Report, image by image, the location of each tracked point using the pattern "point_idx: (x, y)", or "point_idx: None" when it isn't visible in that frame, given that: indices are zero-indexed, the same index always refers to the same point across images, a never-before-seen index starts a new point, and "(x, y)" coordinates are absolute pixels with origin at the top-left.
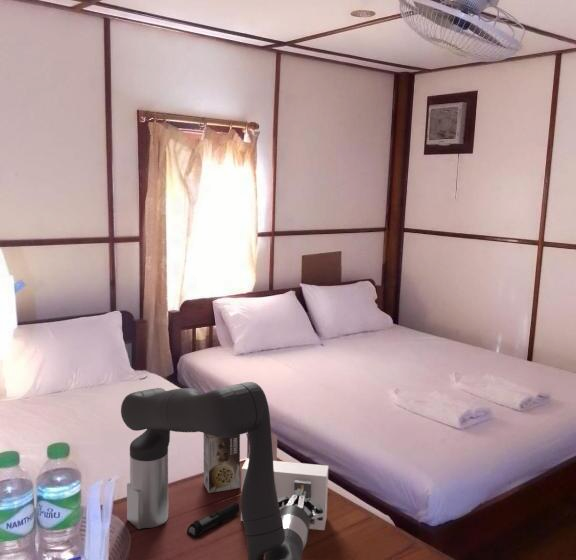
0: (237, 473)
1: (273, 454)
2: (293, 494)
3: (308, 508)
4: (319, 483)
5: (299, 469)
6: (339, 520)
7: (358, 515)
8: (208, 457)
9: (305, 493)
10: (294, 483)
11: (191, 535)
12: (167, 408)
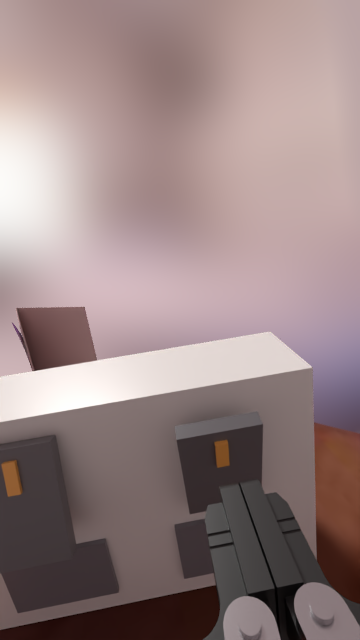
0: None
1: (87, 355)
2: (215, 567)
3: None
4: (283, 405)
5: (177, 370)
6: (322, 489)
7: (351, 450)
8: None
9: (291, 517)
10: (178, 444)
11: None
12: None
